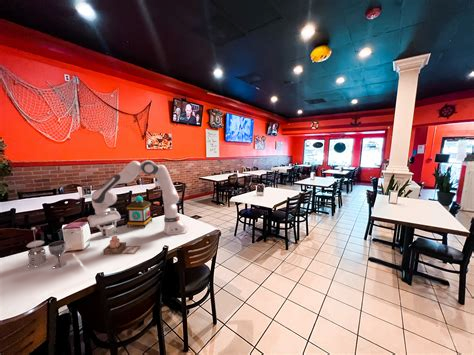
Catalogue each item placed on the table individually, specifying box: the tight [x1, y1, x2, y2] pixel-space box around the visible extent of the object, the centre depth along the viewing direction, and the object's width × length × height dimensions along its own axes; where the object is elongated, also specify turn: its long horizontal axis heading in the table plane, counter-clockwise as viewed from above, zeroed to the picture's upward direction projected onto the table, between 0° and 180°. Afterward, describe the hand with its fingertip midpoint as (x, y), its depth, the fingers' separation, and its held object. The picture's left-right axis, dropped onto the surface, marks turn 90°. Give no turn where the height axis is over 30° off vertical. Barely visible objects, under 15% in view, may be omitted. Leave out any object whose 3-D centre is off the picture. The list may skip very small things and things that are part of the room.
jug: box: [109, 235, 121, 249], centre depth 140 cm, size 8×6×10 cm
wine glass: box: [47, 240, 67, 269], centre depth 123 cm, size 8×8×15 cm
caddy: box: [102, 241, 142, 256], centre depth 142 cm, size 22×12×4 cm, turn 94°
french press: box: [26, 227, 49, 268], centre depth 124 cm, size 10×12×25 cm
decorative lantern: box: [126, 195, 153, 229], centre depth 189 cm, size 20×20×30 cm
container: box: [101, 222, 117, 238], centre depth 167 cm, size 8×8×13 cm
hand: (108, 228), depth 146 cm, fingers open, 8 cm apart
